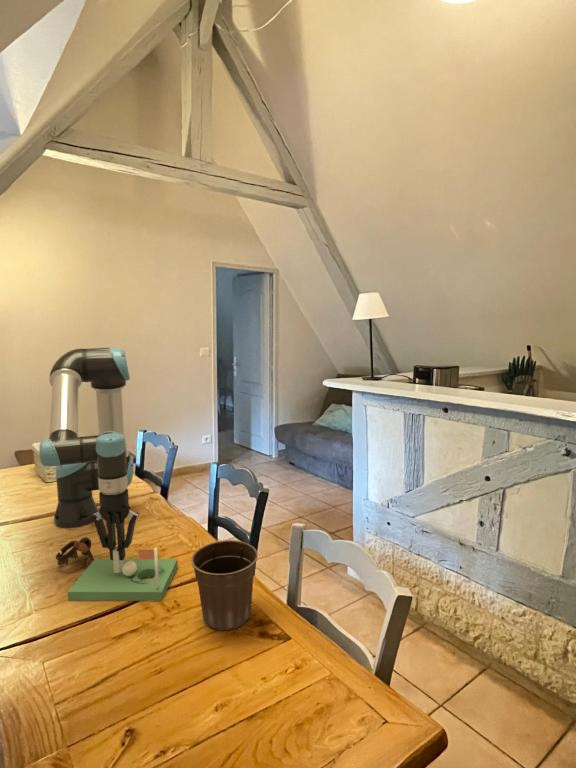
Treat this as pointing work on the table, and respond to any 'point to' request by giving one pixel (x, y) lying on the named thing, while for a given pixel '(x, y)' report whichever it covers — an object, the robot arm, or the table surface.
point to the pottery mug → (75, 551)
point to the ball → (129, 568)
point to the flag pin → (151, 555)
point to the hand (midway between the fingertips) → (118, 570)
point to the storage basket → (43, 471)
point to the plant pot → (225, 582)
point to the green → (123, 581)
